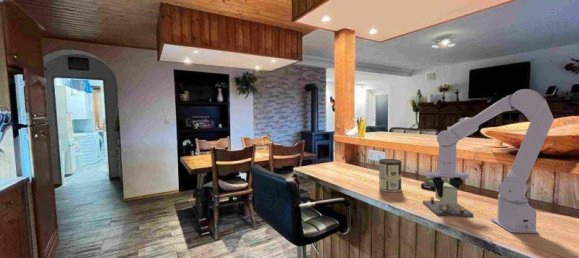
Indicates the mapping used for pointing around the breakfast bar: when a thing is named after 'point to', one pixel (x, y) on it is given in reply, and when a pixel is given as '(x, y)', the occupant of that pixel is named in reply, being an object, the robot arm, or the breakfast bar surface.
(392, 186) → the coffee can
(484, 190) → the breakfast bar surface
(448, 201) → the block
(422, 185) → the disk drive
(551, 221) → the breakfast bar surface
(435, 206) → the plate
